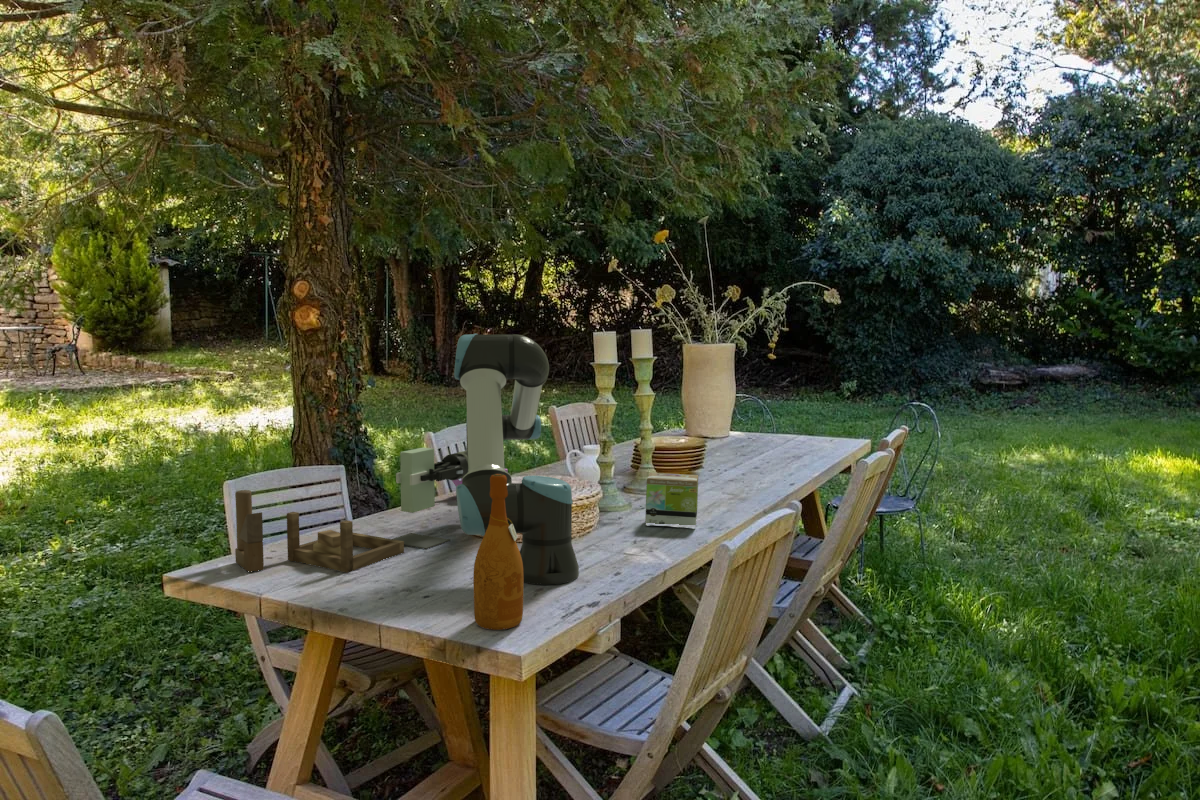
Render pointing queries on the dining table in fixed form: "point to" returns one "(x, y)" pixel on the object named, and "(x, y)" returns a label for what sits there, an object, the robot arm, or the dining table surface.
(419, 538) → the felt mat
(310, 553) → the rack
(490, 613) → the wine bottle
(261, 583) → the dining table surface
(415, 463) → the sage block
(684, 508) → the tea box
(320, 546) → the oak offcut
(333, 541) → the walnut offcut
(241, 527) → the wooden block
